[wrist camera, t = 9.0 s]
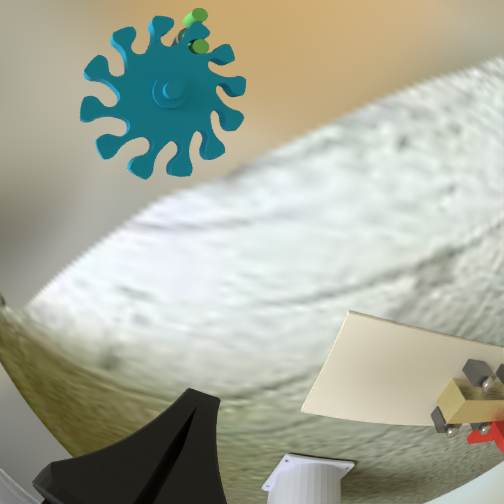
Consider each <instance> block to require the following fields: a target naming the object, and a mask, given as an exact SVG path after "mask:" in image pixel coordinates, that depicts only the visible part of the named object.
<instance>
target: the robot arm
mask: <svg viewBox="0 0 504 504" xmlns="http://www.w3.org/2000/svg"><path fill="white" fill-rule="evenodd" d="M220 401H221V400H220V399H219V398H217V397H214V396H211V395H208V394H205V393H202V392H200V391H197V390H194V389H191V388H188V389H186V391H185V392H184V393H183V394H182V395H181V396H180V397H179V398H178V399H177V400H176V401H175V402H174V403H173V404H172V405H171V406H170V407H169V408H168V409H166V410H165V411H164V412H163V413H161V414H160V415H159V416H158V417H157V418H155V419H154V420H153V421H151V422H150V423H148V424H147V425H145V426H144V427H142V428H141V429H140V430H138V431H136V432H135V433H133V434H131V435H130V436H128V437H126V438H124V439H122V440H120V441H118V442H116V443H114V444H112V445H110V446H107V447H105V448H103V449H100V450H97V451H94V452H91V453H88V454H85V455H82V456H79V457H75V458H70V459H65V460H61V461H55V462H51V463H50V464H49V465H47V466H46V467H45V468H44V469H43V470H42V471H41V472H40V473H39V475H37V477H36V478H35V479H34V480H33V482H32V483H33V486H34V488H35V489H36V490H37V491H38V492H39V493H40V494H41V495H42V496H43V497H44V498H45V500H44V501H43V502H42V504H227V502H226V498H225V495H224V491H223V487H222V482H221V478H220V472H219V466H218V457H217V445H216V424H217V414H218V408H219V405H220ZM354 465H355V464H354V462H352V461H340V460H330V459H322V458H314V457H307V456H301V455H295V454H286V455H285V456H284V457H283V459H282V460H281V461H280V463H279V464H278V466H277V467H276V468H275V470H274V471H273V473H272V474H271V475H270V477H269V478H268V479H267V481H266V482H265V483H264V485H263V486H262V489H263V490H266V491H269V496H268V502H267V504H341V483H340V480H341V479H342V478H343V477H344V476H345V475H346V474H347V473H348V472H349V471H350V470H351V469H352V468H353V467H354ZM0 504H41V503H40V502H38V501H37V500H36V499H34V498H33V497H32V496H30V495H29V494H28V493H27V492H26V491H25V490H24V489H22V488H21V487H20V486H19V485H18V484H17V483H16V482H15V481H13V480H12V479H11V478H10V477H9V476H8V475H7V474H6V473H5V472H4V471H3V470H2V469H1V468H0Z"/></svg>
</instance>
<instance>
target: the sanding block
mask: <svg viewBox="0 0 504 504" xmlns="http://www.w3.org/2000/svg"><path fill="white" fill-rule="evenodd" d="M436 402H437V404H438V406H439V408H440V410H441V412H442V414H443V416H444V419H445V421H446V423H447V424H461V423H480V422H492V421H501V420H504V385H503V383H502V382H495V385H494V387H493V388H492V390H490V391H489V392H487V393H484V391H483V390H482V388H481V387H473V386H472V384H471V383H470V381H469V380H467V379H457V378H452V379H451V380H450V382H449V383H448V385H447V386H446V388H445V389H444V391H443V392H442V394H441V395H440V397H439V398H438V399H437V401H436Z"/></svg>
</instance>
